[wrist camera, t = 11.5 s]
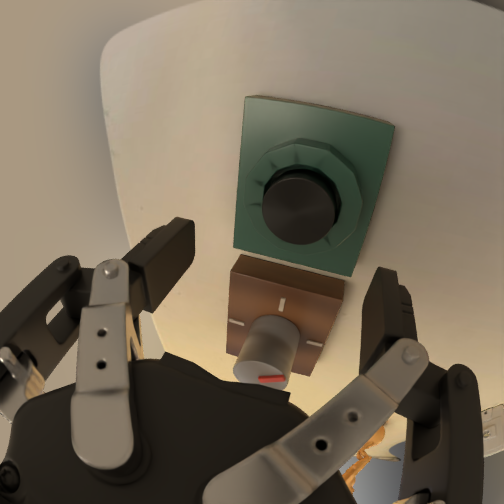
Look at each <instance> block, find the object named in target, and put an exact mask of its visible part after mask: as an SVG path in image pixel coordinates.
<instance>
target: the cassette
mask: <svg viewBox="0 0 504 504" xmlns="http://www.w3.org/2000/svg"><path fill="white" fill-rule="evenodd" d="M481 414H482V426H483V436H484V435H485V434H489V435H490V436H489V437H487V438H483V444H484V457H487V456H490V455H492V454H495V453H497V452H500V451H502V450H504V407H503V405H499V406H496V407H494V408H490V409H487V410H485V411H482V412H481Z"/></svg>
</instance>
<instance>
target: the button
mask: <svg viewBox="0 0 504 504" xmlns="http://www.w3.org/2000/svg"><path fill="white" fill-rule="evenodd" d="M335 209H336V197H335V193H334V190H333V188H332V186H331V185H330V183H329V182H328V181H327V180H326V179H325V178H324V177H323V176H321V175H320V174H318V173H316V172H314V171H311V170H308V169H293V170H289V171H286V172H284V173H283V174H281V175H280V176H279V177H278V178H277V179H276V180H275V181H274V182H273V184H272V185H271V187H270V188H269V189H268V191H267V192H266V194H265V196H264V198H263V202H262V215H263V218H264V221H265V223H266V225H267V227H268V228H269V230H270V231H271V232H272V233H273V234H274V235H275V236H277V237H278V238H279V239H281V240H283V241H285V242H287V243H291V244H295V245H307V244H311V243H314V242H317V241H319V240H320V239H322V238H323V237H324V236H326V234H327V233H328V232H329V231H330V229H331V227H332V225H333V222H334V218H335Z"/></svg>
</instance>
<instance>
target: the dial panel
mask: <svg viewBox="0 0 504 504" xmlns="http://www.w3.org/2000/svg"><path fill="white" fill-rule="evenodd" d="M344 282H345V281H343V280H339V279H335V278H331V277H327V276H323V275H320V274H316V273H312V272H308V271H304V270H300V269H296V268H292V267H288V266H284V265H280V264H276V263H272V262H268V261H264V260H260V259H256V258H253V257H249V256H245V255H240V256H239V258H238V260H237V261H236V263H235V264H234V266H233V268H232V269H231V271H230V286H229V304H228V323H227V344H226V353H228V354H231V355H234V356H237V357H238V356H239V353H240V351H241V349H242V347H243V344H244V342H245V340H246V337H247V335H248V333H249V330H250V328H251V325H252V323H253V322H254V321H255V320H256V319H257V318H259V317H261V316H265V315H275V316H280V317H283V318H285V319H287V320H289V321H290V322H292V323H293V324H294V325H295V326H296V327H297V329H298V330H299V333H300V339H299V343H298V347H297V351H296V355H295V359H294V363H293V366H292V370H291V372H294V373H298V374H302V375H306V376H310V375H311V373H312V371H313V369H314V367H315V364H316V362H317V360H318V358H319V356H320V354H321V351H322V349H323V347H324V345H325V342H326V340H327V338H328V336H329V333H330V331H331V329H332V326H333V324H334V321H335V319H336V317H337V314H338V312H339V309H340V307H341V304H342V302H343V295H344Z"/></svg>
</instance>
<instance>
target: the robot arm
mask: <svg viewBox="0 0 504 504" xmlns="http://www.w3.org/2000/svg"><path fill="white" fill-rule="evenodd" d="M194 256H195V224H194V221H193V220H189V219H184V218H180V217H175V218H174V219H173V220H172V221H171V222H170V223H169V224H167V225H166V226H164V225H163V226H161V227H159V228H157V229H154V230H153V231H152V232H150V233H149V234H148V235H147V236H146V238H144V239H143V240H141V241H140V243H138V244H137V245H136V246H135V247H134V248H133V249H132V250H130V251H129V252H128V253H127V254H126V255H125V256H124V257H123V258H122V259H110V260H106V261H103V262H102V263H100V264H99V265H98V266H97V267H96V268H95V269H93V268H81V266H80V263H79V260H78V258H77V257H75V256H69V255H68V256H63V257H60V258H58V259H56V260H55V261H53V262H52V263H51V264H50V265H49V266H48V267H47V268H46V269H44V270H43V271H42V272H41V273H40V274H39V275H38V276H37V277H36V278H35V279H34V280H32V281H31V282H30V283H29V284H28V285H27V286H26V287H25V288H24V289H23V290H22V291H21V292H20V293H19V294H18V295H17V296H16V297H15V298H14V299H13V300H12V301H11V302H10V303H9V304H8V305H7V306H6V307H5V308H4V309H3V310H2V311H1V312H0V414H1V415H3V416H4V417H5V418H6V419H7V420H8V421H9V422H10V423H11V424H12V427H11V435H10V440H9V446H8V449H7V453H6V456H5V458H4V460H3V462H2V463H1V464H0V504H357V503H356V501H355V499H354V497H353V495H352V493H351V491H350V490H349V488H348V486H347V484H346V482H345V480H344V478H343V476H342V475H341V473H340V471H339V468H341V467H342V466H343V465H344V464H345V463H346V462H347V461H348V460H349V459H350V458H351V457H352V456H353V455H354V454H355V453H356V452H357V451H358V450H360V449H361V447H362V446H363V445H364V444H365V443H366V442H367V441H368V440H369V439H370V438H371V437H372V436H373V435H374V434H375V433H376V432H377V431H378V430H379V429H380V427H381V426H382V425H383V424H384V423H385V422H386V421H387V420H388V418H389V417H390V416H391V415H392V414H393V413H394V412H395V413H397V414H399V415H402V416H404V417H406V418H407V431H406V445H405V455H404V463H403V471H402V478H401V485H400V491H399V497H398V501H397V502H394V503H393V504H482V496H483V479H484V478H483V477H484V444H483V426H482V414H481V405H480V397H479V390H478V383H477V379H476V376H475V375H474V373H473V372H472V370H471V369H469V368H468V367H467V366H465V365H462V364H455V365H453V366H451V367H450V368H449V369H448V371H447V370H445V369H443V368H441V367H439V366H437V365H435V364H433V363H431V362H430V361H429V356H428V353H427V351H426V349H425V348H424V347H423V345H421V344H420V343H419V342H418V339H417V331H416V324H415V318H414V315H413V314H414V311H413V307H412V300H411V295H410V294H409V292H408V290H407V289H406V287H405V286H403V285H399V283H398V277H397V272H396V271H394V270H391V269H387V268H383V267H378V268H377V270H376V272H375V274H374V277H373V279H372V282H371V284H370V286H369V289H368V291H367V293H366V296H365V299H364V302H363V307H362V330H361V350H360V365H359V376H357V377H356V378H355V379H354V380H353V381H352V382H351V383H350V384H348V385H347V386H346V387H345V388H344V389H343V390H342V391H340V392H339V393H338V394H337V395H336V396H335V397H333V398H332V399H331V400H330V401H329V402H327V403H326V404H325V405H324V406H323V407H321V408H320V409H319V410H318V411H316V412H315V413H314V414H313V415H311V416H310V417H309V416H308V415H307V414H306V413H305V412H304V411H302V410H301V409H300V408H298V407H297V406H295V405H294V404H292V403H290V402H288V401H289V397H290V394H291V393H290V392H286V391H282V390H278V389H275V388H271V387H267V386H264V385H260V384H253V383H240V382H230V381H223V380H220V379H218V378H217V377H215V376H214V375H212V374H210V373H209V372H207V371H206V370H204V369H203V368H201V367H200V366H198V365H197V364H195V363H194V362H191V361H188V360H186V359H183V358H180V357H178V356H175V355H173V354H170V353H168V352H165V353H164V355H163V356H162V358H161V359H144V354H143V345H142V334H141V321H140V315H139V314H140V313H141V312H142V310H145V311H148V312H150V313H154V311H155V310H156V309H157V307H158V306H159V305H160V304H161V302H162V301H163V300H164V298H165V297H166V296H167V294H168V293H169V292H170V291H171V289H172V288H173V287H174V286H175V284H176V283H177V282H178V280H179V279H180V278H181V277H182V275H183V274H184V273H185V272H186V270H187V269H188V268H189V267H190V265H191V264H192V262H193V260H194ZM59 300H61V302H62V305H63V308H62V309H61V311H60V312H59V313H58V314H57V315H56V316H55V317H54V318H53V319H52V320H51V322H50V323H49V324H48V325H47V324H46V316H47V314H48V312H49V311H50V310H51V309H52V307H53V306H54V305H55V304H56V303H57V302H58V301H59ZM78 338H79V339H78ZM77 339H78V352H77V367H76V382H75V383H73V384H70V385H67V386H64V387H61V388H59V389H56V390H53V391H50V392H47V393H45V392H44V391H43V390H44V386H45V380H46V379H47V378H48V377H49V375H50V374H51V373H52V371H53V370H54V369H55V367H56V366H57V365H58V363H59V362H60V361H61V359H62V358H63V357H64V356H65V354H66V353H67V352H68V350H69V349H70V348H71V347H72V345H73V344H74V343H75V342H76V340H77Z"/></svg>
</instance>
